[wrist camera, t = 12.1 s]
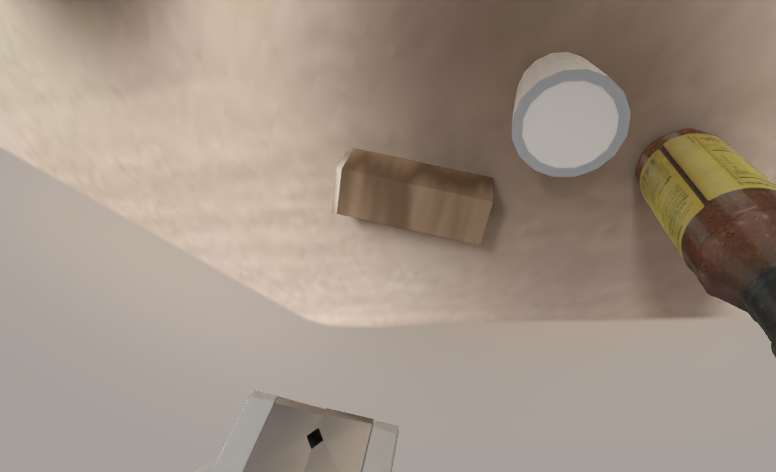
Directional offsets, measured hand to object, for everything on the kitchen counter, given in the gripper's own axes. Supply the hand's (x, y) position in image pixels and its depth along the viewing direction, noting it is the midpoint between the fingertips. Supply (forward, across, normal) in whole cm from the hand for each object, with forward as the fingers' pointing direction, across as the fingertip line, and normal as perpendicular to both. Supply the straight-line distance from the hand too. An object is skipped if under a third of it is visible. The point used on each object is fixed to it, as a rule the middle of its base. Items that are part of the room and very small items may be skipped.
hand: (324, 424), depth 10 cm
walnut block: (+29, +6, +11) cm, 32 cm away
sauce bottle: (+31, -19, +4) cm, 37 cm away
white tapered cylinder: (+31, -8, +1) cm, 32 cm away
